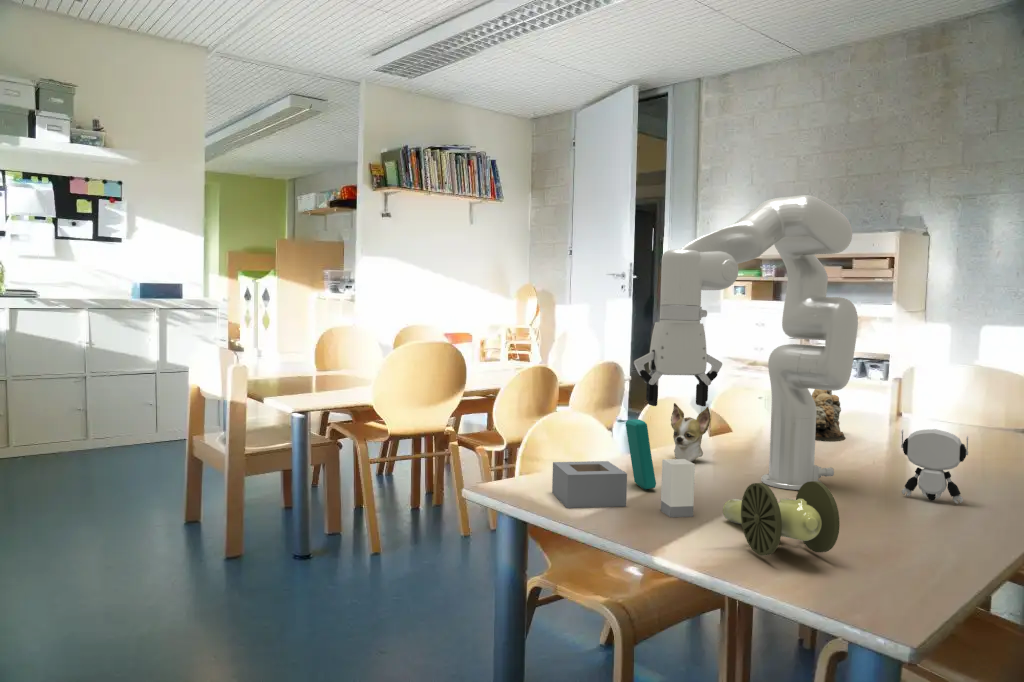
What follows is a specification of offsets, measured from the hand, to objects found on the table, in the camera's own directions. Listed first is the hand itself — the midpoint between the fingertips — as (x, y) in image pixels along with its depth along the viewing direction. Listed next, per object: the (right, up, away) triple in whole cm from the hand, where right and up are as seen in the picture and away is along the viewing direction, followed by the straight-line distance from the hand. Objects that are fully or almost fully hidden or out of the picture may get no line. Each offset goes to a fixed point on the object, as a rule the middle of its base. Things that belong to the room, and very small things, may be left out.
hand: (676, 405), depth 143 cm
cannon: (+12, -22, -15) cm, 29 cm away
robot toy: (+57, -22, +16) cm, 63 cm away
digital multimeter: (-4, -20, +20) cm, 29 cm away
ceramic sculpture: (+13, -19, +47) cm, 52 cm away
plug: (0, -21, 0) cm, 21 cm away
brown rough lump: (+64, -19, +86) cm, 108 cm away
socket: (-16, -20, +10) cm, 27 cm away
